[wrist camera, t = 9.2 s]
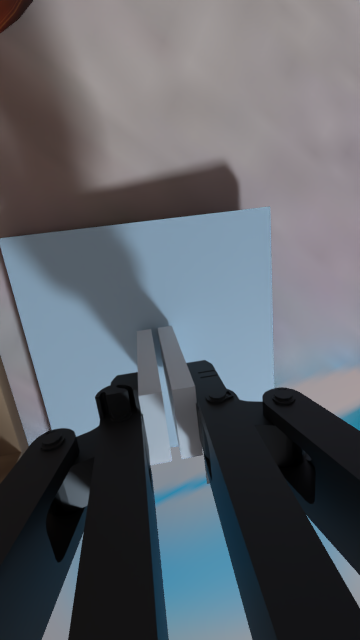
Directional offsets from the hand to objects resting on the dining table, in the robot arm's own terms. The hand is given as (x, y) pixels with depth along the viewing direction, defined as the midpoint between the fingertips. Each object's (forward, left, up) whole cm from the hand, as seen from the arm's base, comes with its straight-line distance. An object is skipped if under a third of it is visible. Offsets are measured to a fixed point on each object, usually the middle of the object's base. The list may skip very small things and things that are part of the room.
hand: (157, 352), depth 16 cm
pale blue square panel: (0, 0, -1) cm, 1 cm away
